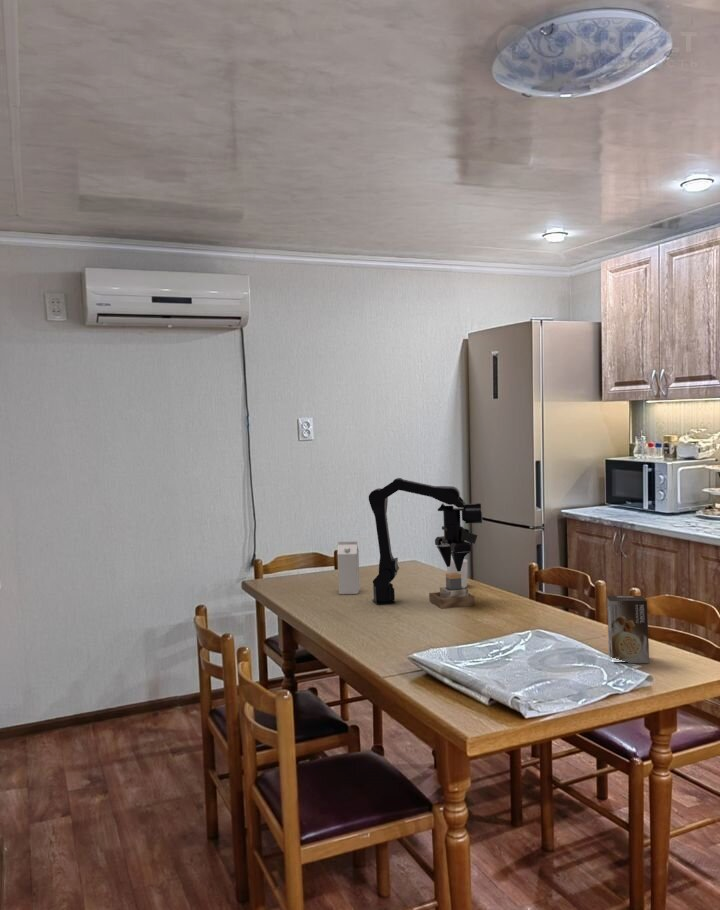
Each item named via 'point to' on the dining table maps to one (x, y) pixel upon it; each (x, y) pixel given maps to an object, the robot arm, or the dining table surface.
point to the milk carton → (348, 568)
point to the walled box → (451, 598)
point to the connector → (453, 581)
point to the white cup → (463, 571)
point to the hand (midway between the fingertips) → (453, 568)
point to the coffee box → (628, 628)
